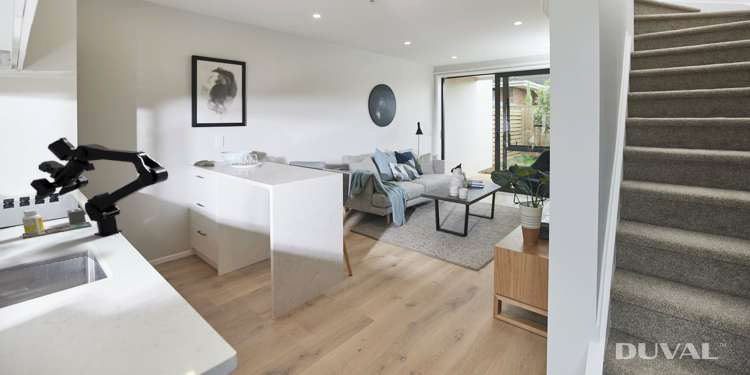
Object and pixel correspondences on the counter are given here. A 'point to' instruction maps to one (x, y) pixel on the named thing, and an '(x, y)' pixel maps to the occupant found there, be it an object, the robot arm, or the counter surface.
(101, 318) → the counter surface
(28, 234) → the supplement bottle
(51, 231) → the board
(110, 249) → the counter surface
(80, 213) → the die
